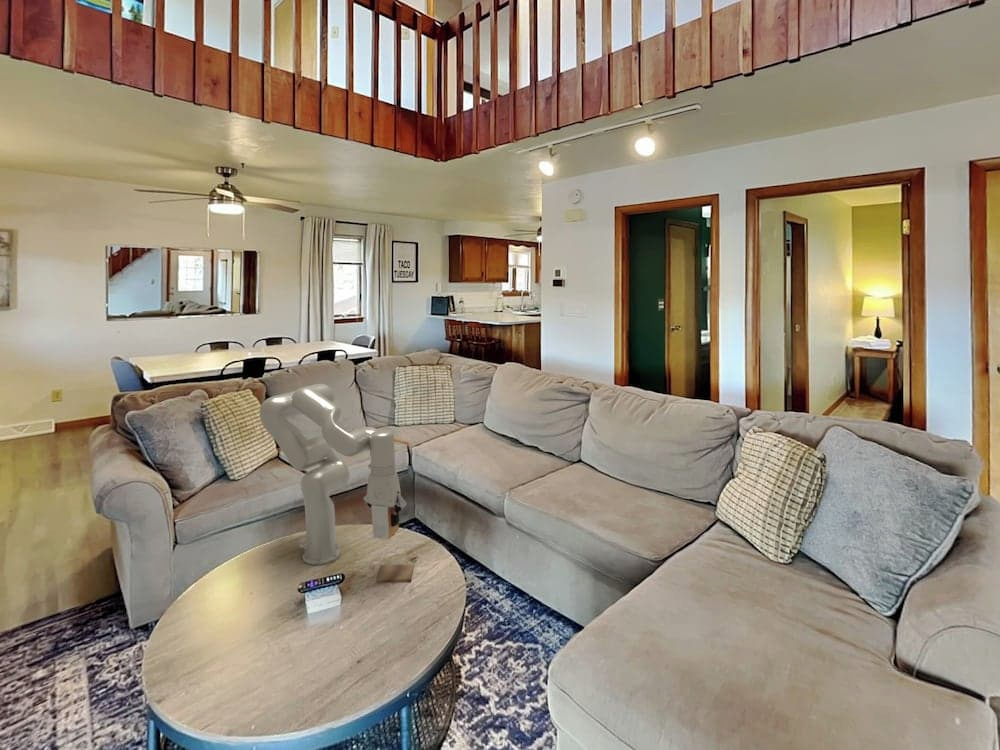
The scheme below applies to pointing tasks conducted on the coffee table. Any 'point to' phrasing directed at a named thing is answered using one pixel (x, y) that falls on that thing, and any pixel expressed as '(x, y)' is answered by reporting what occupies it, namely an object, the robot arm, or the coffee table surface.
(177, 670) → the coffee table surface
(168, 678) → the coffee table surface
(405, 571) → the walnut coaster board
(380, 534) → the small box
